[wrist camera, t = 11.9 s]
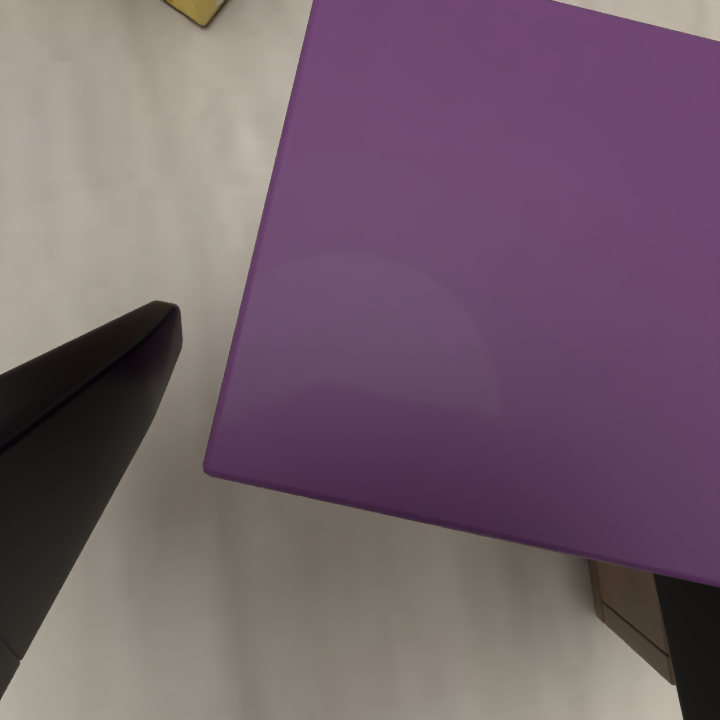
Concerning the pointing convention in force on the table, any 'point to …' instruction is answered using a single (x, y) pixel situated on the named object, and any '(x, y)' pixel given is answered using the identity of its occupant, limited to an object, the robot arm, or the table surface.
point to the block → (491, 281)
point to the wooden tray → (632, 612)
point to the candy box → (197, 8)
